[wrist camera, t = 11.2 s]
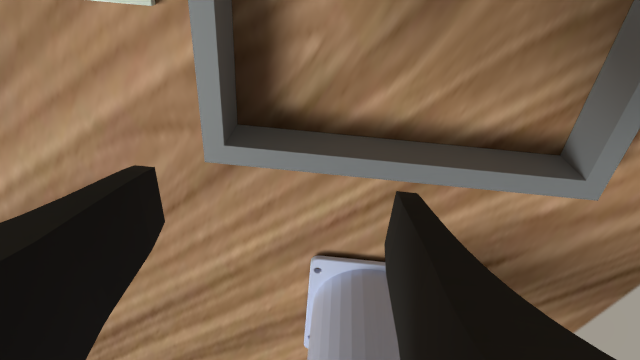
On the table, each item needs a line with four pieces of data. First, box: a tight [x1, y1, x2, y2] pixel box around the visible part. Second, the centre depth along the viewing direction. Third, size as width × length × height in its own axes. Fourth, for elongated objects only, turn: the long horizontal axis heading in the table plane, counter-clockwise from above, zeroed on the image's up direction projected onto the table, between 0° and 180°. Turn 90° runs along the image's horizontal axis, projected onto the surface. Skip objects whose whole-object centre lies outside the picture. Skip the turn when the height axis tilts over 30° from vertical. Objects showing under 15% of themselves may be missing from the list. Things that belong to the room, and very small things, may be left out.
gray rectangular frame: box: [188, 0, 640, 201], centre depth 15 cm, size 13×19×2 cm
